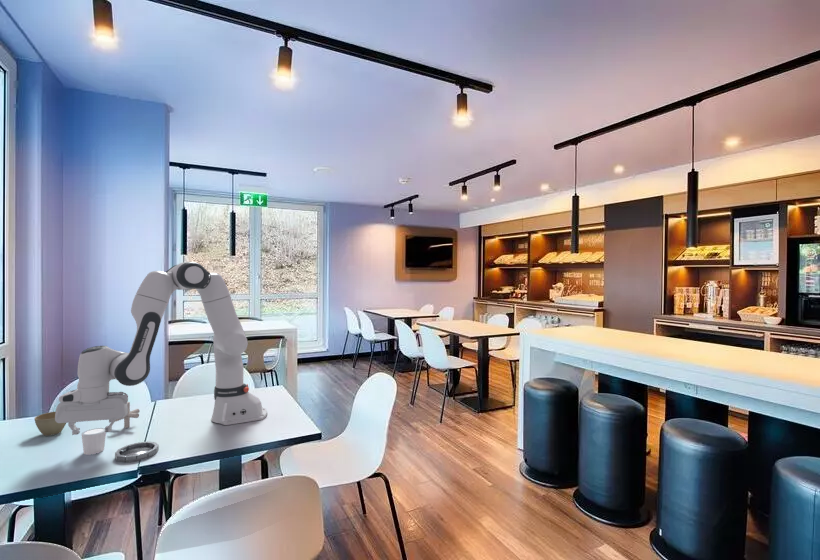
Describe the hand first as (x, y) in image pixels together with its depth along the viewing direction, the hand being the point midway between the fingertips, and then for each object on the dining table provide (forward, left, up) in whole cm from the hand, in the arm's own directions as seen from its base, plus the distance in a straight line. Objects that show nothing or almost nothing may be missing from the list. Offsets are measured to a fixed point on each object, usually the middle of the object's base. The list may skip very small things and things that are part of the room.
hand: (92, 432), depth 138 cm
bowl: (-16, +7, -7) cm, 18 cm away
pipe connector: (-4, -22, -7) cm, 23 cm away
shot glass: (-1, 0, -7) cm, 7 cm away
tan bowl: (+21, -23, -7) cm, 32 cm away
